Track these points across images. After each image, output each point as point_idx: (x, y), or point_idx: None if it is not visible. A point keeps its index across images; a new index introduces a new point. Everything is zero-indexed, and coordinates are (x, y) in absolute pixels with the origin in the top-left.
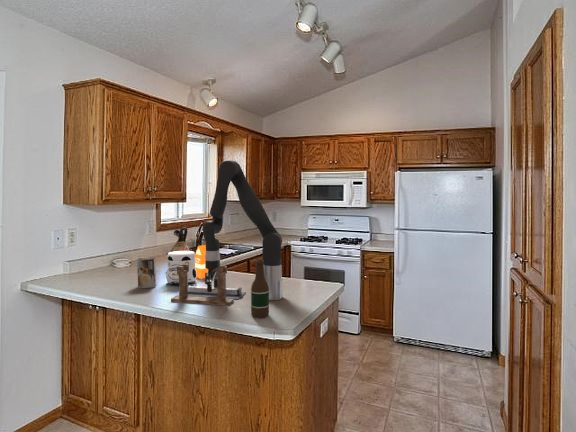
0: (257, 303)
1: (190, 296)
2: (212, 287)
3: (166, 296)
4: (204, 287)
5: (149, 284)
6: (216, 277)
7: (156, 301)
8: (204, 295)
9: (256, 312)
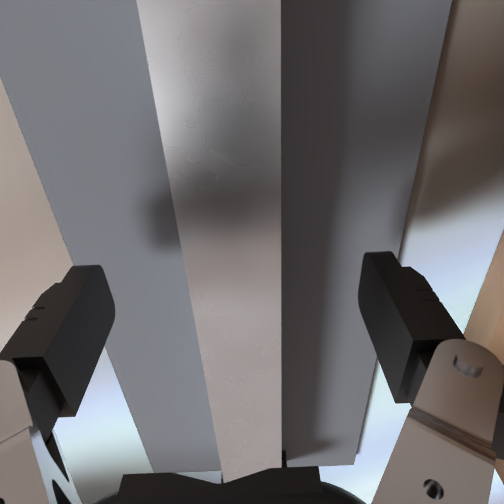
0: None
1: None
2: (213, 315)
3: (370, 499)
4: (248, 398)
5: None
6: (48, 466)
7: (498, 495)
8: (340, 300)
9: None
